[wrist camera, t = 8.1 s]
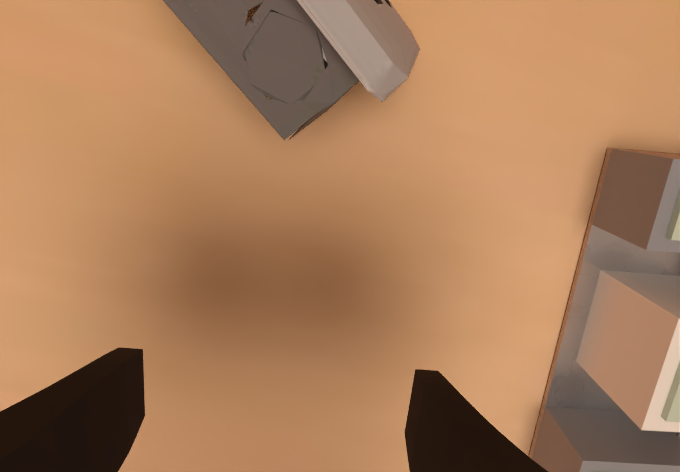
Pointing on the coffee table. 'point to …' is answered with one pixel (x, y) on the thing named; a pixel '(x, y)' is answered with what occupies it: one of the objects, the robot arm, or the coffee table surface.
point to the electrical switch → (302, 51)
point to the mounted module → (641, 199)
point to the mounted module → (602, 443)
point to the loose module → (636, 346)
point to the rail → (597, 254)
